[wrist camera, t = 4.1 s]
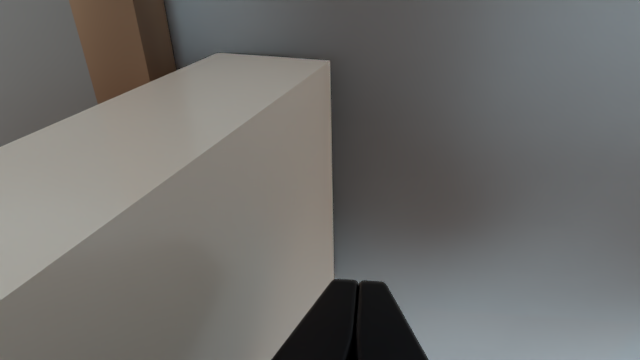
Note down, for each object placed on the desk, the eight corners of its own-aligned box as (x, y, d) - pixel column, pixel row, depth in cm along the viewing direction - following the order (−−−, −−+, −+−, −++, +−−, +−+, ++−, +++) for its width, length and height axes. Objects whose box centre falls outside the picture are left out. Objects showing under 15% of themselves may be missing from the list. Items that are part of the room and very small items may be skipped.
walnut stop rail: (128, -188, 8) (87, -206, 7) (232, 370, 14) (219, 405, 13) (63, -183, 8) (12, -200, 7) (195, 367, 15) (181, 401, 14)
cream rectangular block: (329, 60, 9) (-241, 476, 2) (334, 296, 12) (94, 773, 5) (211, 52, 10) (-448, 331, 3) (243, 273, 12) (-60, 655, 6)
